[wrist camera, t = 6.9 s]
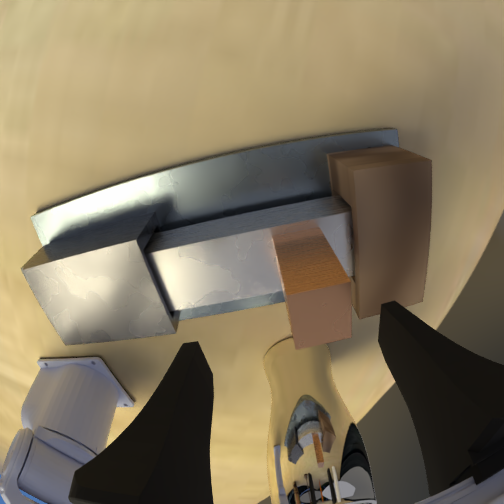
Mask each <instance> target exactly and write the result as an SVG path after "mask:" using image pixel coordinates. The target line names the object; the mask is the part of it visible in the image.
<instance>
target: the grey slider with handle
mask: <svg viewBox="0 0 504 504" xmlns="http://www.w3.org/2000/svg"><path fill="white" fill-rule="evenodd" d="M144 253H145V256H146V258H147V261H148V263H149V266H150V268H151V271H152V273H153V275H154V278H155V280H156V283H157V285H158V287H159V290H160V292H161V294H162V297H163V299H164V301H165V304H166V306H167V308H168V310H169V312H170V311H176V310H182V309H188V308H194V307H200V306H205V305H211V304H217V303H222V302H228V301H233V300H239V299H244V298H249V297H254V296H260V295H265V294H270V293H275V292H280V291H283V294H284V299H285V303H286V308H287V312H288V317H289V321H290V326H291V331H292V335H293V340H294V345H295V349H296V350H298V349H303V348H308V347H312V346H317V345H321V344H326V343H330V342H334V341H339V340H343V339H347V338H351V337H352V304H351V281H350V279H349V277H350V276H354V275H355V258H354V237H353V221H352V208H351V206H350V205H349V204H348V203H347V202H346V201H345V200H344V199H343V198H342V197H341V196H340V195H337V196H331V197H326V198H320V199H315V200H310V201H304V202H299V203H294V204H289V205H284V206H279V207H273V208H269V209H264V210H259V211H254V212H249V213H244V214H239V215H235V216H230V217H225V218H221V219H216V220H212V221H207V222H203V223H198V224H194V225H189V226H185V227H181V228H176V229H172V230H168V231H164V232H159V233H155V234H152V236H151V237H150V239H149V241H148V243H147V244H146V246H145V248H144Z"/></svg>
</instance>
